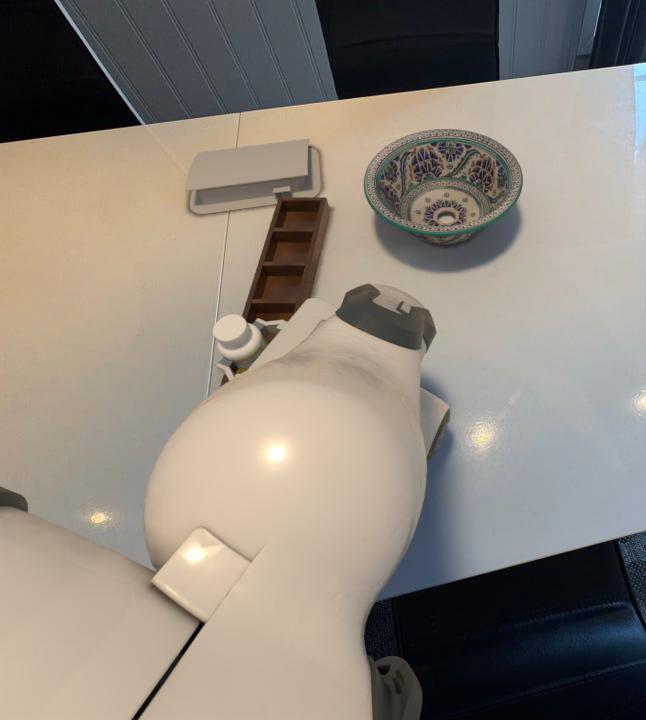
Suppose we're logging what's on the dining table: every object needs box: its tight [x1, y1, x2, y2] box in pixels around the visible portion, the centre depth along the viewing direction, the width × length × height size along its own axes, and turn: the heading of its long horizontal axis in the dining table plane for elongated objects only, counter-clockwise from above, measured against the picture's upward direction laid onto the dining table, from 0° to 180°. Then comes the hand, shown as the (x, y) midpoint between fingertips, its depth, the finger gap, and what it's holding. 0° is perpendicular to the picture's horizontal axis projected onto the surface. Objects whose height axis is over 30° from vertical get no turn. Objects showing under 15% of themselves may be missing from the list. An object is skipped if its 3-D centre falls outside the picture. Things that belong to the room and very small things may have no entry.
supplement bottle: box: [212, 314, 269, 374], centre depth 66 cm, size 5×5×10 cm
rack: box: [219, 196, 331, 388], centre depth 78 cm, size 8×38×3 cm, turn 0°
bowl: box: [363, 128, 524, 246], centre depth 83 cm, size 25×25×10 cm
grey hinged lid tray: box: [184, 138, 322, 215], centre depth 92 cm, size 15×23×4 cm, turn 102°
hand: (238, 344), depth 65 cm, fingers closed on supplement bottle, 5 cm apart
